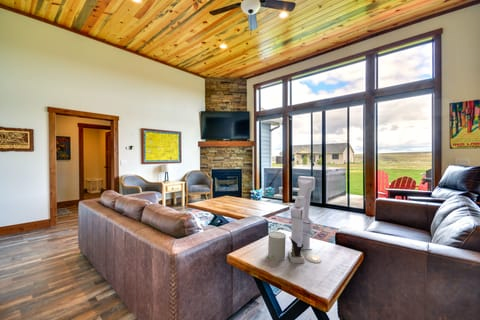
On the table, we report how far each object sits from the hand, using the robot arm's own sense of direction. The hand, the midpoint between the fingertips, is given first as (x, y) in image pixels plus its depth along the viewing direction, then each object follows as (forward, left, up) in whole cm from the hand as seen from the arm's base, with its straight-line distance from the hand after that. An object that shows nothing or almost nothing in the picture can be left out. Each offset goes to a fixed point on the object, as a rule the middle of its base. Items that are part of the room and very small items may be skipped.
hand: (296, 253), depth 115 cm
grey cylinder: (-2, -10, -3) cm, 11 cm away
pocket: (0, 0, -3) cm, 3 cm away
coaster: (-1, +10, -3) cm, 10 cm away
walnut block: (0, 0, -3) cm, 3 cm away
